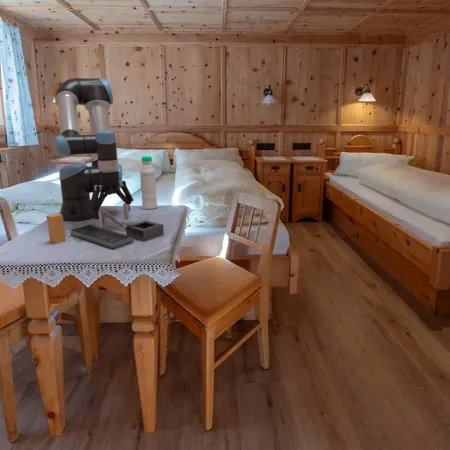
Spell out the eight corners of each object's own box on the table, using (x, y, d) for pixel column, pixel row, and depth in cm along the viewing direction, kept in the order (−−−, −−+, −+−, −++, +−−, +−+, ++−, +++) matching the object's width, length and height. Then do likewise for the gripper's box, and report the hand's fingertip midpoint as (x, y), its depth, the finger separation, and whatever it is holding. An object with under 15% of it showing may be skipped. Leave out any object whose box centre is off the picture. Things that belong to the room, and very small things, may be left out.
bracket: (100, 217, 174) (104, 198, 169) (130, 247, 165) (135, 229, 160) (93, 219, 171) (98, 200, 166) (123, 250, 163) (128, 230, 157)
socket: (126, 236, 155) (125, 226, 154) (146, 229, 163) (145, 220, 162) (143, 241, 149) (143, 230, 148) (163, 234, 157) (163, 224, 156)
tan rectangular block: (50, 241, 150) (46, 215, 147) (60, 238, 153) (56, 213, 150) (55, 243, 148) (52, 217, 145) (65, 240, 151) (62, 214, 148)
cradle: (70, 235, 157) (70, 229, 156) (90, 229, 163) (90, 224, 163) (112, 249, 141) (112, 243, 141) (132, 242, 148) (132, 236, 147)
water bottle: (141, 206, 199) (137, 155, 192) (155, 205, 201) (152, 154, 194) (143, 210, 193) (140, 157, 186) (158, 208, 195) (155, 156, 188)
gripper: (86, 175, 148) (92, 231, 154) (139, 167, 166) (143, 217, 172) (74, 174, 152) (81, 228, 158) (127, 166, 171) (131, 214, 177)
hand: (113, 222), depth 165 cm, fingers open, 13 cm apart
